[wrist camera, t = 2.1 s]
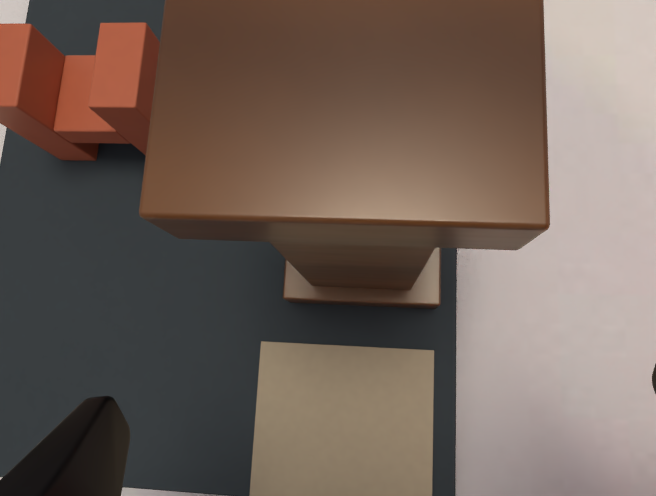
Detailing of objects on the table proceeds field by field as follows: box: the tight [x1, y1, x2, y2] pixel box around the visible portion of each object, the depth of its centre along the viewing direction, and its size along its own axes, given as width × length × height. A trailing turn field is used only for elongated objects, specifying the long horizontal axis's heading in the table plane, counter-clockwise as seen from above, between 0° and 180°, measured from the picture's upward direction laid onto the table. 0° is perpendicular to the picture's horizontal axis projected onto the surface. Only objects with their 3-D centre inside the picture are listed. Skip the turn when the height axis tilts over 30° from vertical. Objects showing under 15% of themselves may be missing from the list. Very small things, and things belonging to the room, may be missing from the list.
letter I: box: [139, 0, 550, 309], centre depth 14 cm, size 4×6×13 cm
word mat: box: [0, 0, 457, 496], centre depth 23 cm, size 40×19×1 cm, turn 177°
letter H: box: [0, 23, 160, 161], centre depth 19 cm, size 3×6×5 cm, turn 87°
